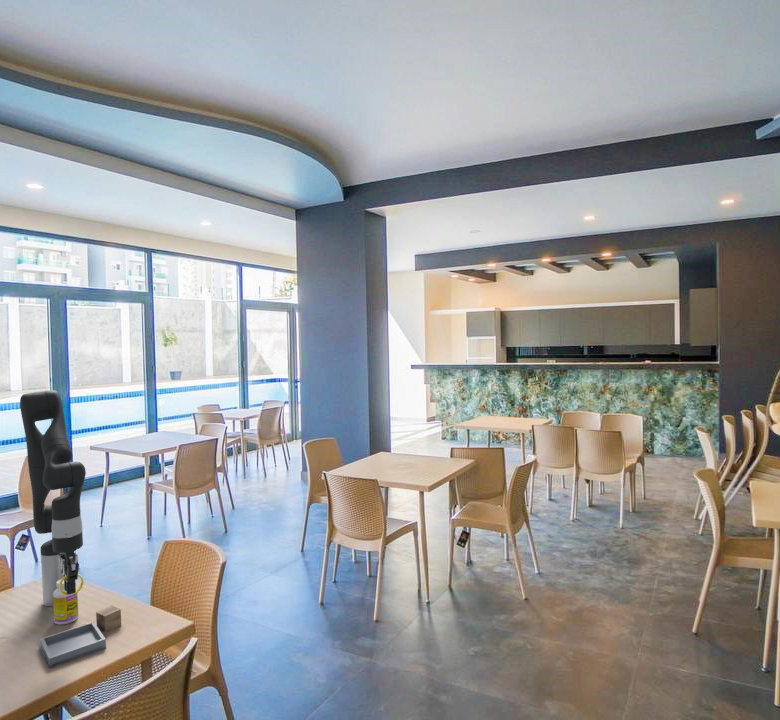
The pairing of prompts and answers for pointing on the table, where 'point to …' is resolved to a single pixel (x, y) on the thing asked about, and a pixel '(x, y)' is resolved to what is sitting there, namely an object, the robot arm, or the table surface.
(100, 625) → the walnut block
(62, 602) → the supplement bottle
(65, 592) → the watch
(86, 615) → the table surface
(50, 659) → the slate tray
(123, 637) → the table surface
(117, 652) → the table surface
